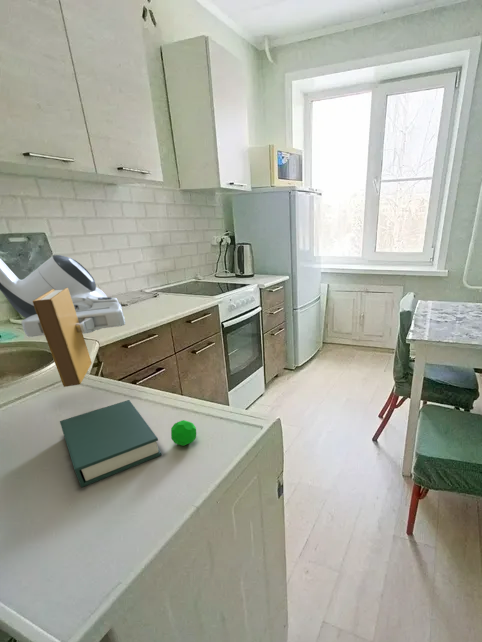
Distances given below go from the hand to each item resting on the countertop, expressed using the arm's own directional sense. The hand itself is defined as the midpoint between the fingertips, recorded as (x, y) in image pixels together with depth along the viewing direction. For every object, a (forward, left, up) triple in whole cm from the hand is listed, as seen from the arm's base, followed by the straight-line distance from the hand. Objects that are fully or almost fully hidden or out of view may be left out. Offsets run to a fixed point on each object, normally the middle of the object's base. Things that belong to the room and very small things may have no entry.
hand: (68, 330), depth 74 cm
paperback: (+2, -2, -9) cm, 9 cm away
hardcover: (+13, -8, -21) cm, 26 cm away
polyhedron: (+27, -2, -21) cm, 34 cm away
